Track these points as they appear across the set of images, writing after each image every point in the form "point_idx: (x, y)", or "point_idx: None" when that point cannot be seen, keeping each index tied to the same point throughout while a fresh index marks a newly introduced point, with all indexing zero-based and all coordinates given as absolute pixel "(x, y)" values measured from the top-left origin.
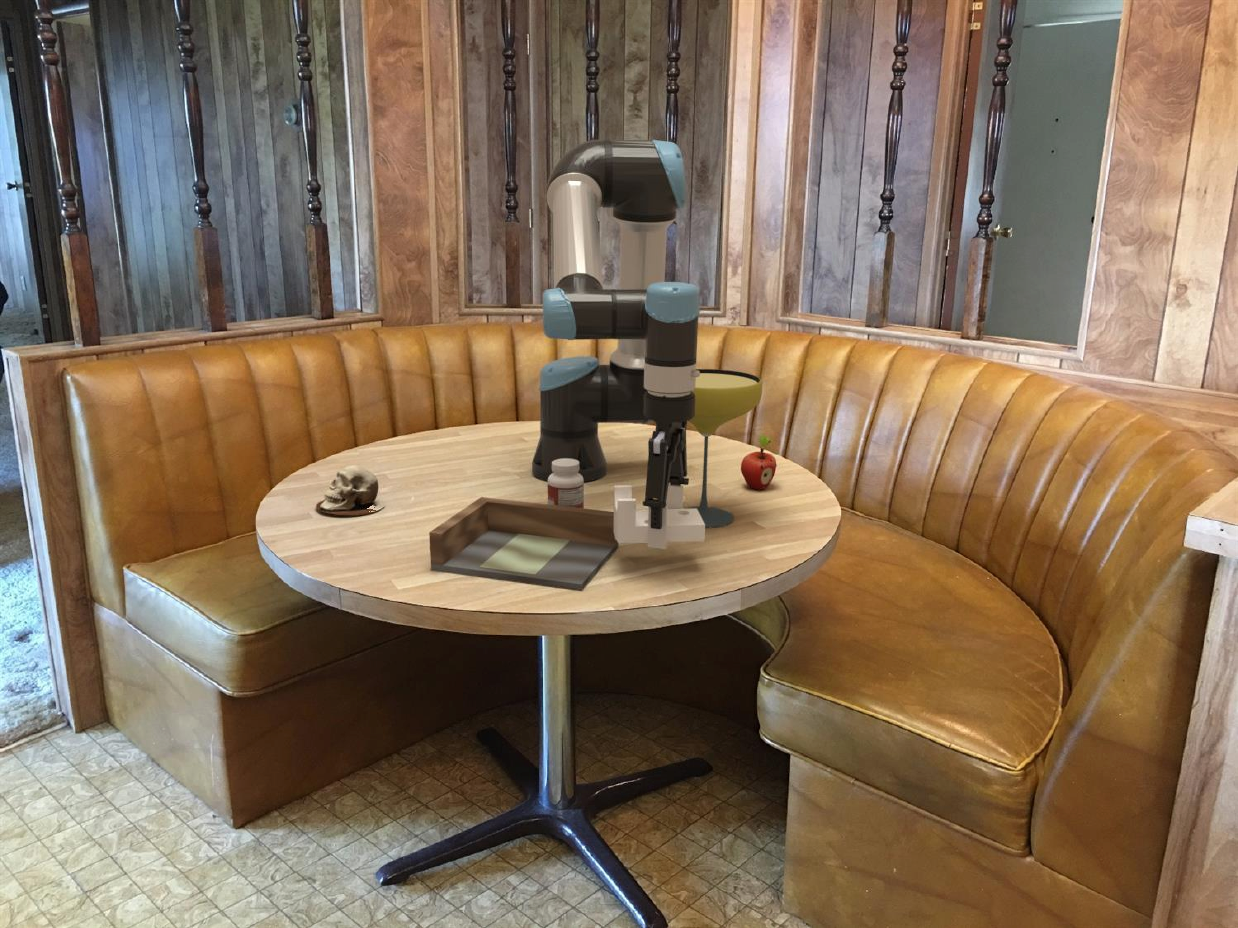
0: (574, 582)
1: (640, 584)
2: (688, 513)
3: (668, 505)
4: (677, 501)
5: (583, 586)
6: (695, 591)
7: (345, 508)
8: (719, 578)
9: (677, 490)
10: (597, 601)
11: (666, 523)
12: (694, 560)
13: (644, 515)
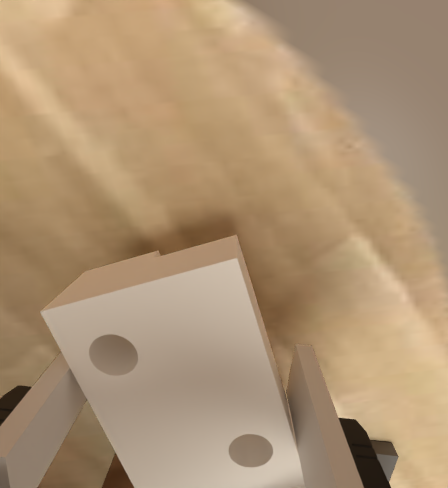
0: (389, 468)
1: (341, 343)
2: (98, 334)
3: (68, 418)
4: (53, 406)
5: (379, 445)
6: (371, 213)
7: None
8: (270, 157)
9: (20, 456)
10: (445, 409)
11: (332, 416)
12: (156, 239)
13: (191, 472)
